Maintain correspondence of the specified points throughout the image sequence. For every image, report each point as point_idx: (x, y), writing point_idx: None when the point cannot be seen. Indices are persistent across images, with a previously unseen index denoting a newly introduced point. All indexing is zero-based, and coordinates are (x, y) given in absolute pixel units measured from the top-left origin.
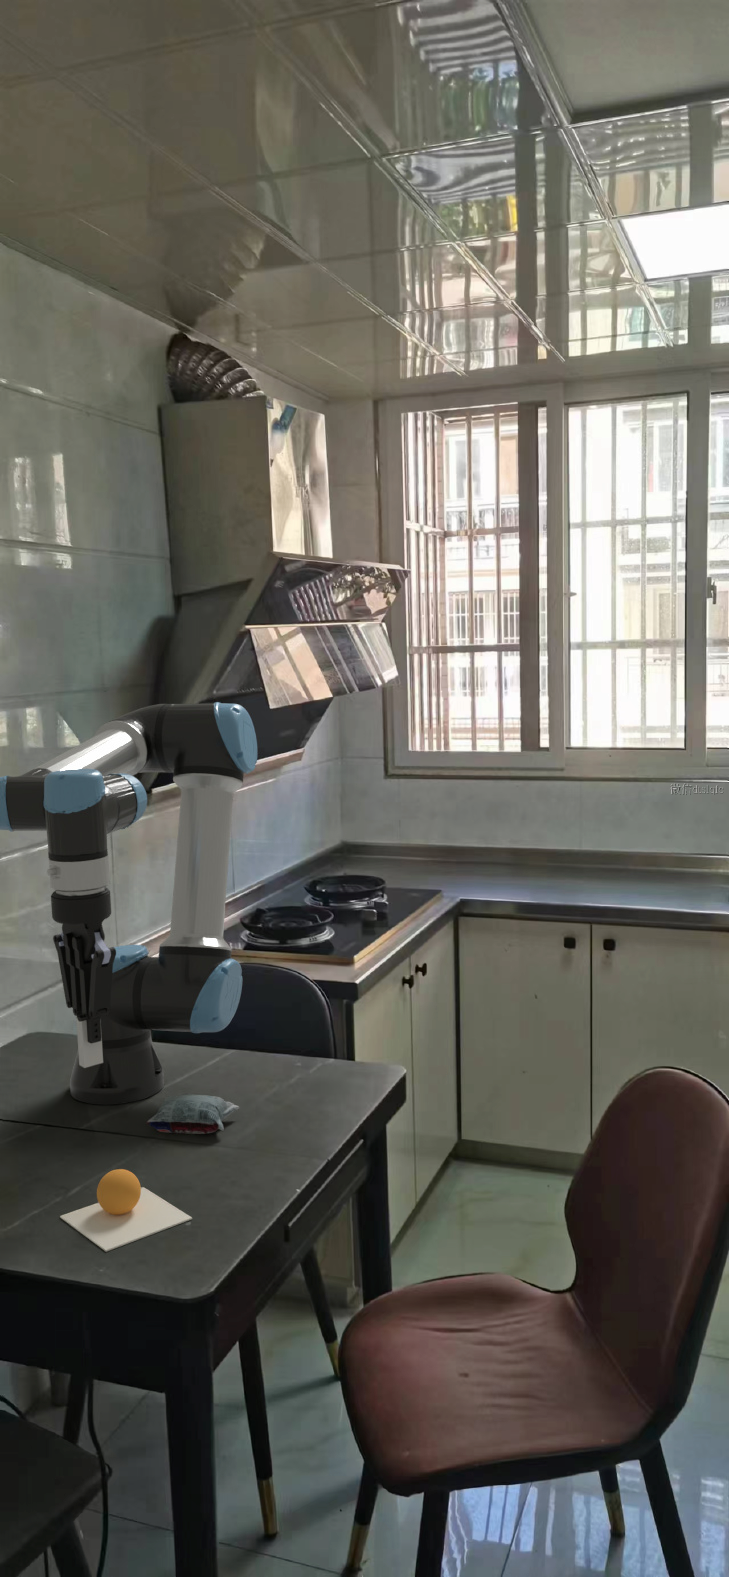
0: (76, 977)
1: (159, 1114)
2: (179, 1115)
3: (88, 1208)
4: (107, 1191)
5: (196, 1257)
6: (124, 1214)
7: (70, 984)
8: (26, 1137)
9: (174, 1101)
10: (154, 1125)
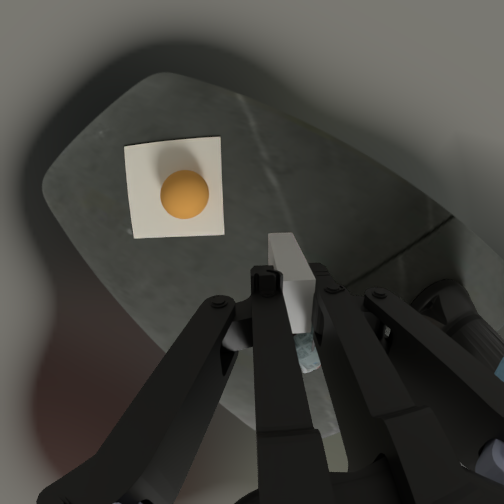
0: (353, 381)
1: None
2: (313, 329)
3: (216, 167)
4: (170, 177)
5: (77, 207)
6: None
7: (404, 343)
8: (420, 205)
9: None
10: None
